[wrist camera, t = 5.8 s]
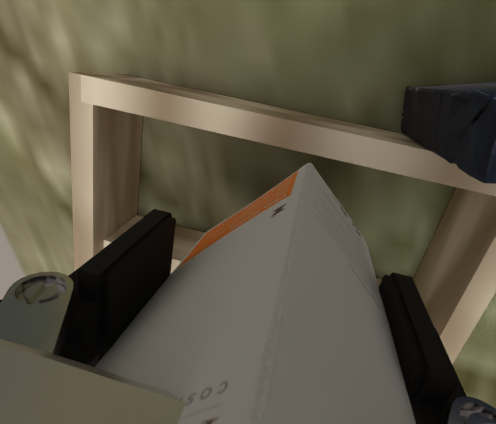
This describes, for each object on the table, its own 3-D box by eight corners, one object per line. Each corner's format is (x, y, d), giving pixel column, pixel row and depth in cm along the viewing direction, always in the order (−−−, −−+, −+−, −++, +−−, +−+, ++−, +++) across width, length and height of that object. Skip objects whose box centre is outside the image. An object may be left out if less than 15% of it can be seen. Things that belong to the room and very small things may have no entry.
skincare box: (309, 156, 13) (252, 520, 2) (367, 239, 14) (554, 836, 3) (199, 231, 15) (-108, 598, 4) (254, 299, 16) (109, 763, 5)
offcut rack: (497, 154, 17) (562, 180, 13) (375, 399, 25) (388, 470, 20) (126, 74, 19) (68, 72, 15) (117, 322, 27) (77, 370, 22)
